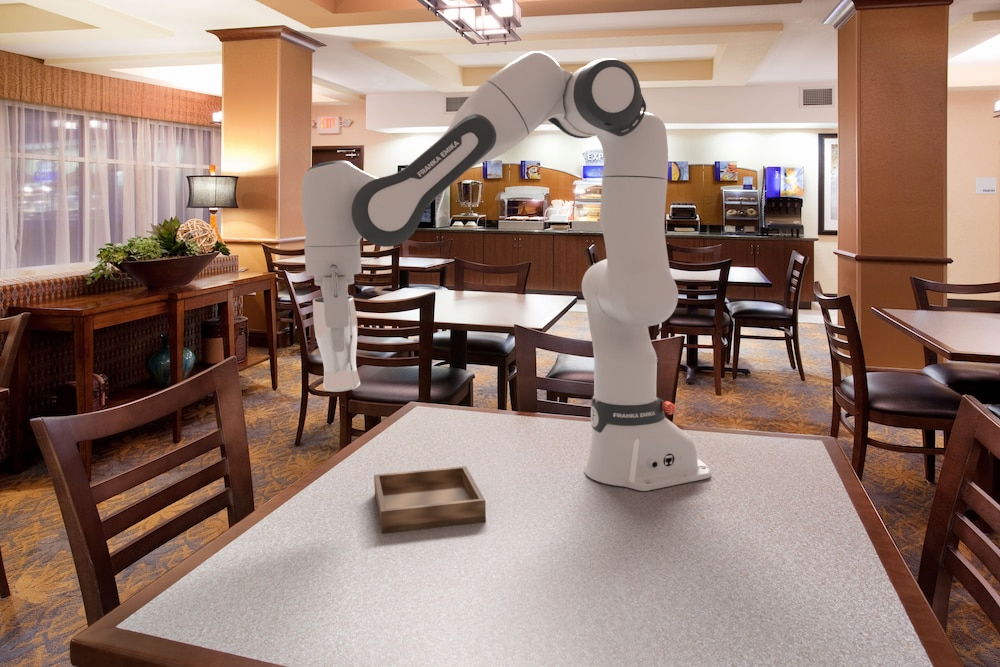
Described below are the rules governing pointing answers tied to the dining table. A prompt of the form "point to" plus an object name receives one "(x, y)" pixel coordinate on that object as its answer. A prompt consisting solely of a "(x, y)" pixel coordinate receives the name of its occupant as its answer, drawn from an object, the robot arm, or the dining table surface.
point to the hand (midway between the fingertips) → (338, 347)
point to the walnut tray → (428, 499)
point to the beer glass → (337, 364)
